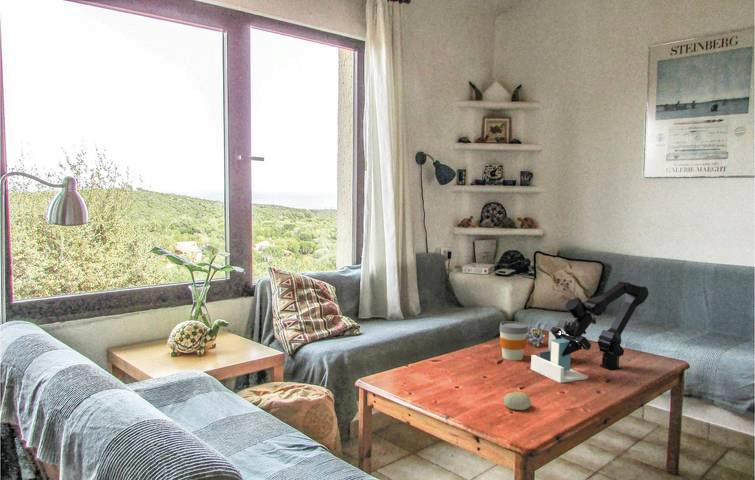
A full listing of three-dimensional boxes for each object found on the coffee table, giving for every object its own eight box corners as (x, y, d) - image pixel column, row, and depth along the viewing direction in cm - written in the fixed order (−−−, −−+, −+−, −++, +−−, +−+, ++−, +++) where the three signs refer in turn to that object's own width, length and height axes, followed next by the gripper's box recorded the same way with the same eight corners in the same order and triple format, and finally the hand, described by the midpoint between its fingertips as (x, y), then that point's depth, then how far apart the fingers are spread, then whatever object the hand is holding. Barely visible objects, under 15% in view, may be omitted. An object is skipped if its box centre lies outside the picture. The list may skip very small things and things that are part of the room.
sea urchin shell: (498, 396, 204) (514, 381, 204) (512, 411, 205) (528, 396, 205) (505, 406, 195) (522, 390, 195) (520, 422, 196) (537, 406, 196)
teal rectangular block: (561, 366, 237) (562, 338, 236) (569, 370, 233) (571, 341, 231) (549, 368, 235) (551, 339, 233) (558, 372, 230) (559, 343, 229)
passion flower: (536, 357, 276) (532, 341, 269) (518, 348, 284) (513, 332, 277) (550, 341, 280) (546, 325, 274) (532, 333, 288) (527, 317, 281)
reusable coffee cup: (530, 356, 259) (532, 323, 258) (521, 363, 249) (523, 329, 247) (503, 351, 266) (505, 319, 264) (494, 358, 255) (495, 325, 254)
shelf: (556, 365, 247) (557, 347, 246) (587, 378, 230) (588, 359, 230) (530, 369, 241) (531, 350, 240) (560, 382, 225) (561, 363, 224)
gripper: (554, 307, 241) (532, 335, 238) (586, 317, 224) (563, 348, 221) (568, 324, 245) (546, 352, 242) (601, 335, 228) (578, 365, 225)
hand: (558, 353), depth 232 cm, fingers closed on teal rectangular block, 5 cm apart
